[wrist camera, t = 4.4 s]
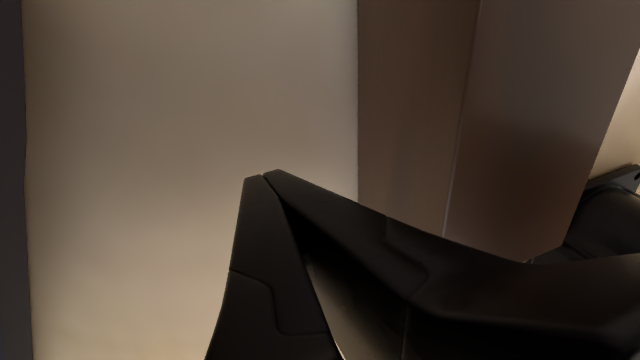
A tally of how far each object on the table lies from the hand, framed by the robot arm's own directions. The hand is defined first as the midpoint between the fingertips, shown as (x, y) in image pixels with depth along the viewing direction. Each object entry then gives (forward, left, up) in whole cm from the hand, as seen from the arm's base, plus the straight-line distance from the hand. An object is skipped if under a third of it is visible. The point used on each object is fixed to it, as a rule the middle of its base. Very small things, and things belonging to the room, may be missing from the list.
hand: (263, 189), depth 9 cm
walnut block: (-6, 0, -3) cm, 7 cm away
